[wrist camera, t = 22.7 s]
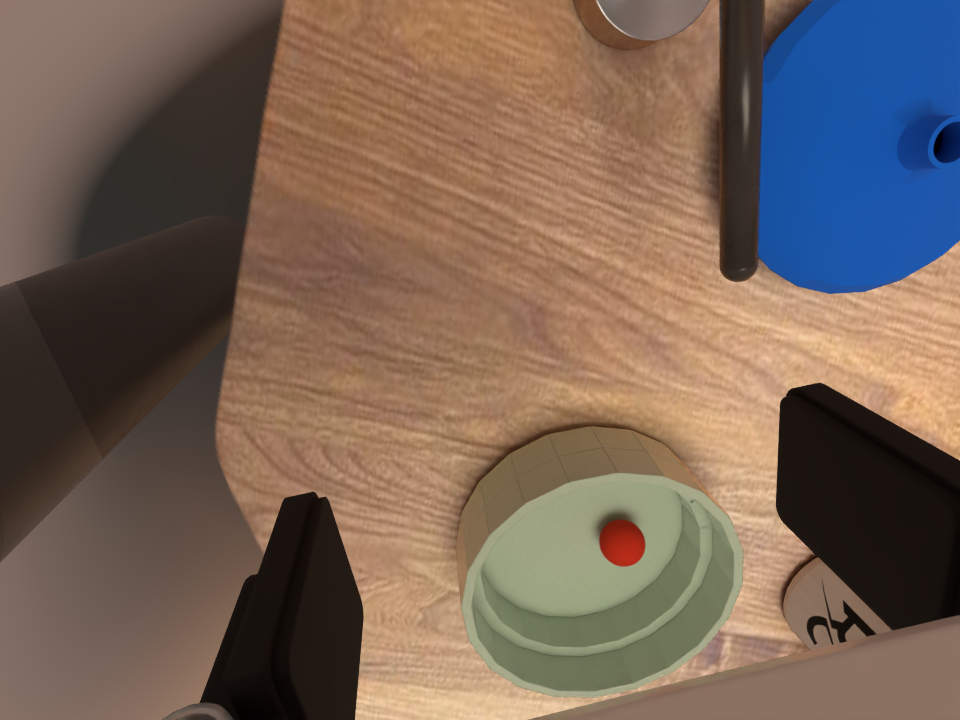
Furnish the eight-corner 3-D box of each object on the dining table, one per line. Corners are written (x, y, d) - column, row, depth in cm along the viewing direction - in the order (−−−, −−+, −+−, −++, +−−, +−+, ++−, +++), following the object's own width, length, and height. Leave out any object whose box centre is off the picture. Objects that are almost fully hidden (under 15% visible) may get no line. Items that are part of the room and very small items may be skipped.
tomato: (599, 518, 36) (602, 514, 39) (595, 565, 36) (599, 559, 39) (647, 524, 35) (646, 521, 38) (643, 574, 35) (643, 566, 38)
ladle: (565, -85, 26) (656, -225, 16) (690, -106, 26) (858, -258, 16) (594, 249, 32) (674, 299, 22) (696, 230, 32) (820, 271, 22)
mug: (801, 538, 41) (911, 653, 32) (908, 544, 43) (1043, 656, 33) (749, 660, 46) (833, 792, 36) (847, 662, 47) (952, 790, 38)
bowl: (478, 644, 42) (487, 720, 36) (435, 450, 35) (437, 508, 30) (698, 598, 42) (740, 667, 37) (696, 399, 36) (746, 447, 30)
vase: (667, 59, 28) (740, 35, 22) (964, -86, 27) (1135, -157, 21) (739, 323, 34) (814, 366, 28) (986, 212, 33) (1125, 230, 27)
